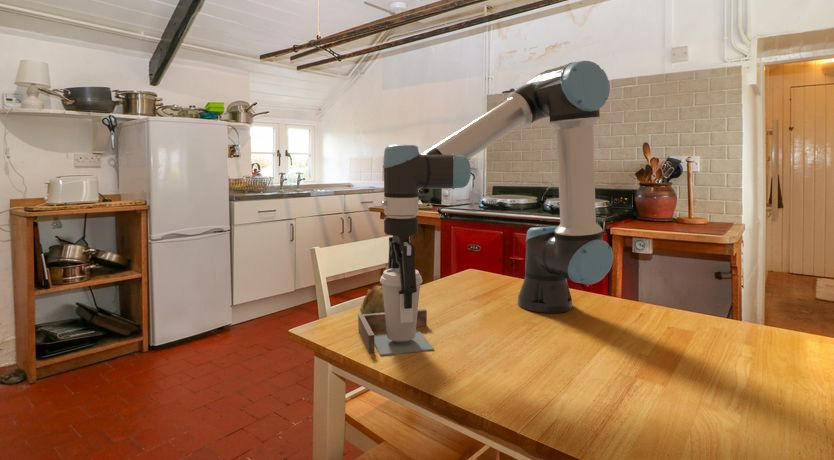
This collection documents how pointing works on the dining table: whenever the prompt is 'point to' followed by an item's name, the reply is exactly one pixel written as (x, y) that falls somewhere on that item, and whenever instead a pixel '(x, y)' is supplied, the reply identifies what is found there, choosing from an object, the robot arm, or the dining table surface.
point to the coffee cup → (398, 306)
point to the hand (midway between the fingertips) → (401, 314)
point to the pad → (401, 344)
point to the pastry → (373, 301)
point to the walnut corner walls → (380, 326)
